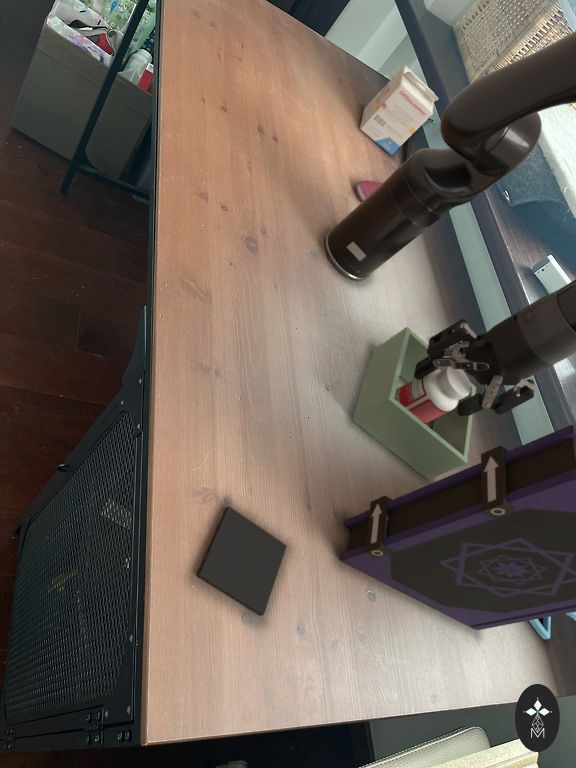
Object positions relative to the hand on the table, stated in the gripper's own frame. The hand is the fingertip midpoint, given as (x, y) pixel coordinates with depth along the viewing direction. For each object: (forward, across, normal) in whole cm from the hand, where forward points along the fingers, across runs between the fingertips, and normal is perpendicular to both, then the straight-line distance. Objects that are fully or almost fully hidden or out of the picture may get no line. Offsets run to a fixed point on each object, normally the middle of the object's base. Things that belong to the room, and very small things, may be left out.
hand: (437, 392), depth 84 cm
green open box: (+7, 0, 0) cm, 7 cm away
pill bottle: (+8, 0, 0) cm, 8 cm away
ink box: (+7, +21, -62) cm, 66 cm away
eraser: (+7, +16, -42) cm, 46 cm away
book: (+8, -7, +22) cm, 24 cm away
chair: (+8, -29, +14) cm, 33 cm away
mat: (+8, +15, +33) cm, 37 cm away
